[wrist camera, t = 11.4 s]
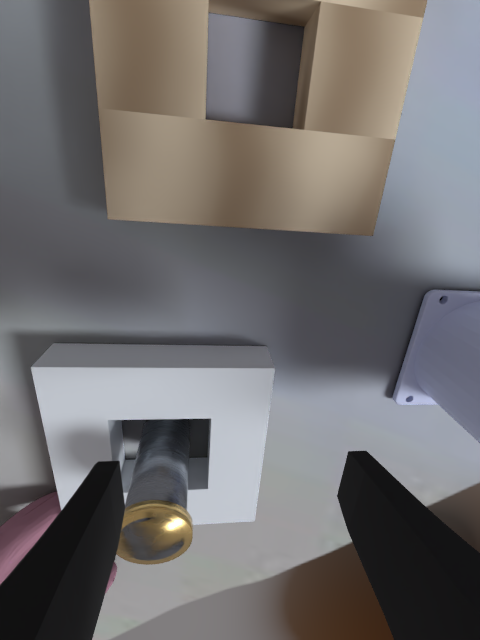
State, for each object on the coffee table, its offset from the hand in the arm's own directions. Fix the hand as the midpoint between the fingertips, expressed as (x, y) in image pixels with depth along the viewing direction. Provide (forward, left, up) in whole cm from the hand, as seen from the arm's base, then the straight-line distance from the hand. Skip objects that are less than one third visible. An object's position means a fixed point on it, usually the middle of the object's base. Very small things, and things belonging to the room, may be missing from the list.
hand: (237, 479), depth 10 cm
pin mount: (-1, -13, -9) cm, 16 cm away
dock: (+3, +6, -9) cm, 12 cm away
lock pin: (+3, +6, -9) cm, 12 cm away
